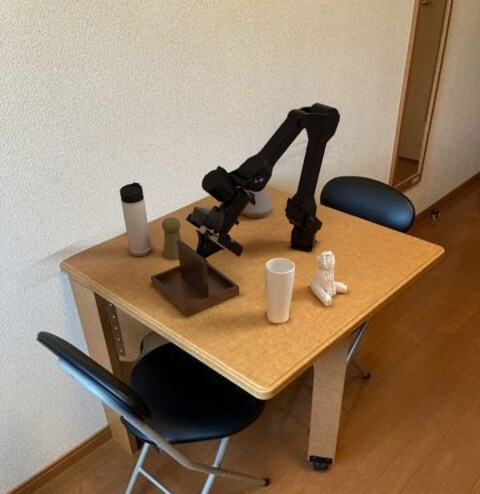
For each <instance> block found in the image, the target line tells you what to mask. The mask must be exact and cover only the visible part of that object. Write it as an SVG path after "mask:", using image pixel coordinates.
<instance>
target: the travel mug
mask: <svg viewBox="0 0 480 494" xmlns="http://www.w3.org/2000/svg"><path fill="white" fill-rule="evenodd" d="M119 196H120V201H121V207H122V214H123V219H124V225H125V231H126V236H127V243H128V247H129V253H130V254H131V255H132V256H134V257H145V256H147V255H149V254H151V252H152V244H151V243H152V242H151V237H150V230H149V229H150V228H149V223H148V215H147V208H146V201H145V195H144V189H143V186H142V185H141V184H140V182H134V181H133V182H132V183H128V184H125V185H123V186H121V188H120V189H119Z"/></svg>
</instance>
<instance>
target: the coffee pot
mask: <svg viewBox="0 0 480 494" xmlns="http://www.w3.org/2000/svg"><path fill="white" fill-rule="evenodd" d="M237 188H241V187H239V186H238V187H237ZM244 190H245V189H244ZM245 191H246V192H251V193H253V194H255V201H256V204H255V205H253V204H251V203H248V205H247V206H246V208H245V209H244V210H243V212H242V213H241V214H242V215H244V216H245V218H249V219H254V220H255V219H256V220H257V219H258V220H259V219H262V218H265V217H266V216H267V215H269V213H271V212H272V210H273V209H274V204H273V200H272V199H271V196H270V193H269V192H268V189H267V187H266V186H265V188H264V189H263V190H262V191H260V192H253V191H251V190H245Z"/></svg>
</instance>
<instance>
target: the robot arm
mask: <svg viewBox="0 0 480 494" xmlns="http://www.w3.org/2000/svg"><path fill="white" fill-rule="evenodd" d="M340 121H341V113H340V112H339V109H337V108H336V107H334V106H330V105H326V104H324V103H320V102H315V103H313V104H311V105H308V106H302V107H299V108H294V109H290V110H289V111H288V113H287V115H286V118H285V119H284V120H283V121H282V123H281V124H280V126H278V128H277V129H276V130H275V132H274V133H273V134H272V135H271V136H270V137H269V139H268V140H267V142H266V143H265V144H264V145H263V147H262V148H261V149H260V150H259V151H258V152H257V153H256V154H254V155H251V156H249V157H247V159H245V161H243V162H242V163H241V164H240V165H239V166H238V167H237V168H236V169H233V170H231V171H229V172H228V170H226V169H225V168H224V167H223V166H220V165H217V167H216V168H215V169H212V170H210V171H209V172H208V173H206V174H205V175H204V176H203V178H202V180H201V188H202V190H203V191H204V192H206V193H207V194H208V195H209V196H211V197H212V198H213V199H215V200H216V201H217V202H219V203H220V204H219V205H218V206H217V205H213V206H212V208H210V209H209V208H205V207H201V206H200V207H199V206H194V207H193V209H192V212H191V213H189V214H188V215H187V216H186V218H185V221H187V223H189V224H191V225H192V226H193V227H195V228H196V229H195V233H197V239H198V241H197V246H196V250H195V251H196V252H198V253H199V254H200V255H201V256H203V257H204V258H205V259H208V258H209V257H211V256H212V255H214V254H217V253H219V252H221V251H225V250H228V251H229V252H231V253H232V254H233V255H235V256H237V257H238V258H240V256H241V255H242V254H243V252H244V245H243V244H240V242H238V241H236V240H235V239H234V238H233V237H231V234H229V233H230V232H231V230H232V229H233V227H234V226H235V225H236V226H239V225H240V223H241V222H240V221H239V220H238V219H239V218H240V216H241V215H242V214H243V213H242V212H243V210H244V209H245V208H246V206H247V205H248V203H251V204H253V205H255V204H256V201H255V194H253V193H251V192H246V191H245V190H251V191H253V192H260V191H262V190H263V189H264V188H265V187H266V186H267V185H268V183H269V181H271V178H272V176H273V171H274V167H275V166H276V164H277V163H278V161H279V160H280V159H281V158H282V156H283V155H284V154H285V153H286V152H287V150H288V149H289V148H290V147H291V145H292V144H293V143H294V141H295V140H296V139H297V138H298V137H299V135H300V134H301V133H302V132H303V130H305V131H306V135H307V136H306V137H307V144H306V148H305V152H304V158H303V161H302V166H301V171H300V175H299V180H298V185H297V190H296V192H295V193H294V194H293V195H292V197H288V198H287V199H286V206H285V208H284V212H285V217H286V219H287V220H288V223H289V224H290V225H291V226H293V227H292V229H291V231H290V244H291V245H290V246H289V247H290V249H293V250H298V251H303V252H309V253H311V252H312V251H313V250H314V248H315V246H316V244H317V240H316V237H317V234H318V232H319V231H321V229H322V226H323V222H322V220H320V219H319V218H318V217H317V209H318V206H317V202H316V197H315V194H316V189H317V185H318V182H319V177H320V174H321V170H322V165H323V160H324V156H325V152H326V148H327V144H328V142H329V141H330V140H331V139H332V138H333V137H334V136H335V135H336V132H337V129H338V127H339V124H340ZM238 186H239V187H241V188H237V187H238ZM244 189H245V190H244Z"/></svg>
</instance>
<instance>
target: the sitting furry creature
mask: <svg viewBox="0 0 480 494" xmlns="http://www.w3.org/2000/svg"><path fill="white" fill-rule="evenodd" d="M314 260H315V261H316V262H317V263H318V265H319V267H318V268H317V270H316V272H315V275H314V276H313V277H311V278H310V280H309V282H310V283H309V284H310V285H309V287H310V290H311V291H312V293H313V294H314V295H315V296H316V298H317V299H318V300H319V301H320V302H321V303H322V304H323V305H324V306H326V307H329V306H331V304H332V303H333V298H332V297H334V296H336V295H337V294H338V293H339V294H340V293H341V294H347V290H348V286H347V285H346V284H344V283H343V282H340V281H336V280H335V272H334V268H335V264H336V258H335V253H333V251H332V250H324V251H323V252H321V253H320V254H319V255H318V256H315V258H314Z"/></svg>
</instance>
